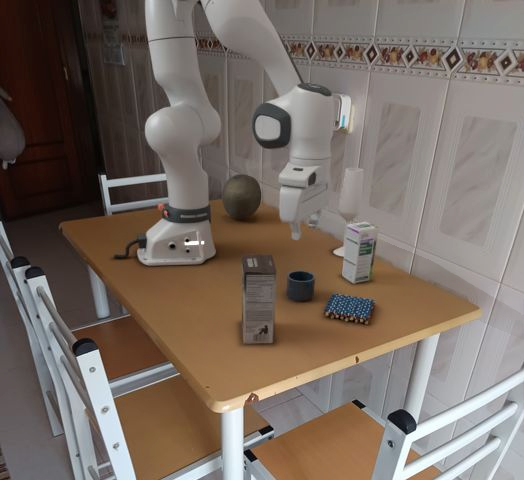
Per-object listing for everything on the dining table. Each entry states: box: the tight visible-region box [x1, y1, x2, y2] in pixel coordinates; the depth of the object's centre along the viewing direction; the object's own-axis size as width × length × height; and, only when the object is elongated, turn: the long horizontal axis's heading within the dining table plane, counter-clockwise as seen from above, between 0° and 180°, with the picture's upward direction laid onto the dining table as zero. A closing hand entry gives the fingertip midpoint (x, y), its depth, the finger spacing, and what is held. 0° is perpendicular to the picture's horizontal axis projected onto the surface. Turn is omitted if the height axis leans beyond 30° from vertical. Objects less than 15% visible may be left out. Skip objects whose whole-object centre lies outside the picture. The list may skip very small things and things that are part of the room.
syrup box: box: [341, 221, 379, 285], centre depth 128 cm, size 6×6×14 cm
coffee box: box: [241, 253, 278, 345], centre depth 101 cm, size 9×6×16 cm
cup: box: [285, 270, 316, 303], centre depth 120 cm, size 7×7×5 cm
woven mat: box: [323, 293, 376, 325], centre depth 114 cm, size 10×11×2 cm
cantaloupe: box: [221, 173, 262, 220], centre depth 169 cm, size 14×14×15 cm
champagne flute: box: [332, 167, 364, 258], centre depth 141 cm, size 7×7×24 cm
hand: (305, 233), depth 112 cm, fingers open, 8 cm apart
